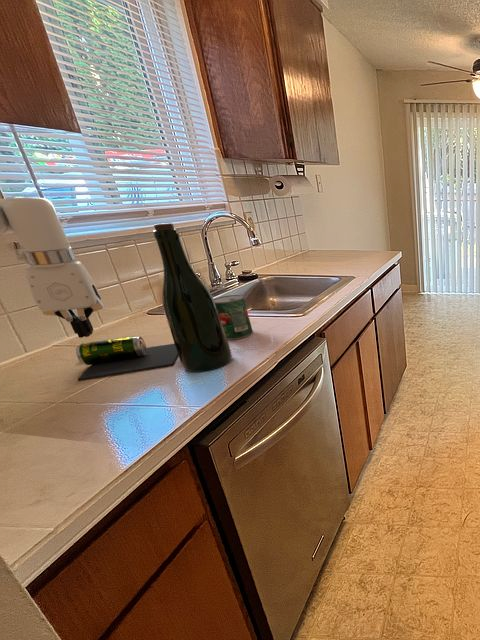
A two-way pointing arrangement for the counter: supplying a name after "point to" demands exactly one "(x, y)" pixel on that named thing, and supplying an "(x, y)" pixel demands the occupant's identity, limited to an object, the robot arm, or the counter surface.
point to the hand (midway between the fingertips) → (86, 335)
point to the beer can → (111, 350)
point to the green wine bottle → (189, 307)
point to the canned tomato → (234, 316)
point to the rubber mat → (134, 363)
